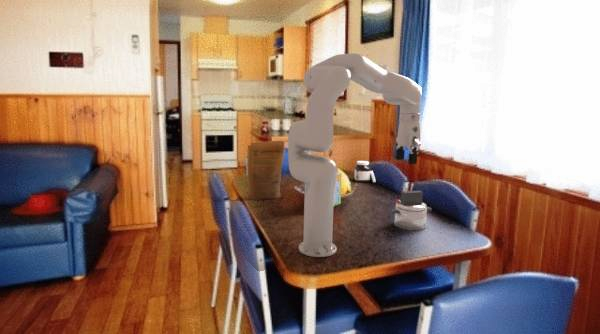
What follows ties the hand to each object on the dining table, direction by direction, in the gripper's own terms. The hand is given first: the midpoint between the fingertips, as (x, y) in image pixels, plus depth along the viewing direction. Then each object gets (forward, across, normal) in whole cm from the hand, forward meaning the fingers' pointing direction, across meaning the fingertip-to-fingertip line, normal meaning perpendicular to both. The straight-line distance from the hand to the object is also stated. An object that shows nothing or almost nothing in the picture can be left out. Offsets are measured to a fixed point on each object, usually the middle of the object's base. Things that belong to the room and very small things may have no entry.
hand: (406, 161), depth 160 cm
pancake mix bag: (+26, +46, +48) cm, 71 cm away
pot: (+25, -3, -2) cm, 26 cm away
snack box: (+26, +27, +25) cm, 45 cm away
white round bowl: (+18, -3, -2) cm, 18 cm away
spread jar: (+25, +73, -16) cm, 79 cm away
